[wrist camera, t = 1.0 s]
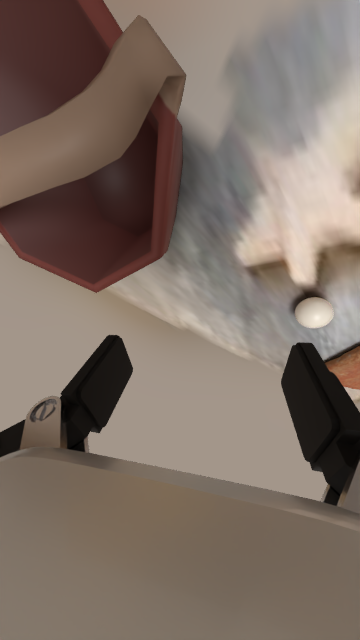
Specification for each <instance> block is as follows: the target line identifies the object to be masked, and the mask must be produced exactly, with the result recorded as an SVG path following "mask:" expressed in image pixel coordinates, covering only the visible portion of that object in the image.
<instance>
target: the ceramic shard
mask: <svg viewBox="0 0 360 640" xmlns="http://www.w3.org/2000/svg"><path fill="white" fill-rule="evenodd" d="M325 364H326V366H327V368H328V369H329V371H330V372H333V373H334V374H335V375H336V376H337V378H338V379H339V381H340V382H341V384H342V385H343V386H344V387H349V388H352V389H360V346H358V347H357V348H355V349H353V350H351V351H349V352H347V353H345V354H343V355H342V356H341V357H339V358H336V359H333V360H331V361H328V362H326V363H325Z"/></svg>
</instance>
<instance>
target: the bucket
mask: <svg viewBox="0 0 360 640" xmlns="http://www.w3.org/2000/svg"><path fill="white" fill-rule="evenodd" d="M185 80H186V74H185V73H184V71H183V70H182V68H181V67H180V65H179V64H178V63H177V61H176V60H175V59H174V57H173V56H172V54H171V53H170V52H169V50H168V49H167V48H166V46H165V45H164V43H163V42H162V41H161V39H160V38H159V36H158V35H157V33H156V32H155V31H154V29H153V28H152V27H151V25H150V24H149V23H148V21H147V20H146V19H145V18H143V17H141V16H140V15H138V16H137V17H136V19H135V20H134V21H133V22H132V23H131V24H130V26H129V27H128V28H127V29H126V30H125V31H124V32H122V30H121V28H120V27H119V25H118V24H117V22H116V20H115V19H114V17H113V16H112V14H111V12H110V11H109V9H108V8H107V6H106V4H105V3H104V1H103V0H0V233H1V234H2V235H3V237H4V238H5V239H6V241H7V242H8V243H9V244H10V246H11V247H12V249H13V250H14V251H15V253H16V254H17V255H18V257H19V258H21V259H23V260H25V261H28V262H30V263H32V264H34V265H36V266H38V267H41V268H43V269H45V270H47V271H49V272H52V273H54V274H56V275H58V276H61V277H63V278H65V279H67V280H69V281H71V282H74V283H76V284H78V285H80V286H82V287H85V288H87V289H89V290H91V291H94V292H96V293H97V292H99V291H101V290H102V289H104V288H106V287H108V286H110V285H112V284H114V283H116V282H117V281H119V280H121V279H123V278H125V277H127V276H129V275H130V274H132V273H134V272H136V271H138V270H140V269H142V268H143V267H145V266H147V265H149V264H151V263H153V262H155V261H156V260H158V259H160V258H161V257H162V256H163V255H164V254H165V253H166V252H167V251H168V247H169V242H170V238H171V234H172V230H173V226H174V222H175V218H176V211H177V204H178V196H179V188H180V181H181V173H182V165H183V146H182V126H181V124H180V122H179V121H178V119H177V115H178V112H179V108H180V104H181V101H182V96H183V91H184V85H185Z"/></svg>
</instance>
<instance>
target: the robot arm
mask: <svg viewBox="0 0 360 640" xmlns="http://www.w3.org/2000/svg"><path fill="white" fill-rule="evenodd" d="M132 372H133V367H132V365H131V362H130V359H129V356H128V354H127V351H126V348H125V346H124V343H123V341H122V338H120V337H119V336H117V335H108V336H107V337H106V338H105V339H104V341H103V342H102V343H101V344H100V346H99V347H98V348H97V349H96V351H95V352H94V353H93V354H92V355H91V357H90V358H89V359H88V360H87V362H86V363H85V364H84V365H83V367H82V368H81V369H80V370H79V371H78V373H77V374H76V375H75V376H74V378H73V379H72V380H71V381H70V382H69V384H68V385H67V386H66V387H65V389H64V390H63V391H62V393H61V395H62V396H61V397H60V398H59V397H57V396H50V397H47V398H44V399H42V400H41V401H39V402H38V403H36V404H35V405H34V406H33V407H32V408H31V409H30V411H29V413H28V414H27V416H26V419H25V420H23V421H21V422H19V423H17V424H16V425H13V426H11V427H10V428H8V429H6V430H4V431H2V432H0V640H360V412H359V411H358V409H357V407H356V406H355V404H354V403H353V401H352V400H351V398H350V396H349V395H348V393H347V392H346V390H345V389H344V387H343V385H342V384H341V382H340V381H339V379H338V378H337V376H336V375H335V374H334V373H333V372H330V371H329V369H328V368H327V366H326V364H325V363H324V361H323V360H322V358H321V356H320V355H319V353H318V351H317V350H316V348H315V347H314V345H313V344H312V343H297V344H296V345H293V346H292V348H291V351H290V355H289V358H288V361H287V364H286V367H285V370H284V373H283V376H282V380H281V385H282V388H283V392H284V395H285V398H286V401H287V405H288V408H289V411H290V414H291V418H292V421H293V423H294V427H295V430H296V433H297V437H298V440H299V443H300V446H301V449H302V452H303V455H304V458H305V460H306V461H308V462H310V464H311V468H312V470H314V471H320V472H323V474H324V477H325V480H326V482H327V483H328V485H327V487H326V489H325V492H324V494H323V496H322V498H321V501H316V500H312V499H307V498H303V497H299V496H294V495H290V494H285V493H281V492H277V491H272V490H268V489H263V488H258V487H253V486H249V485H244V484H239V483H234V482H229V481H225V480H219V479H215V478H210V477H206V476H201V475H195V474H191V473H186V472H181V471H176V470H171V469H166V468H162V467H157V466H151V465H146V464H141V463H137V462H132V461H127V460H122V459H116V458H112V457H107V456H102V455H97V454H92V453H89V445H88V434H89V432H90V431H91V432H96V433H100V431H101V429H102V428H103V427H105V426H106V424H107V422H108V420H109V418H110V416H111V414H112V412H113V410H114V408H115V406H116V404H117V402H118V400H119V398H120V396H121V394H122V392H123V390H124V388H125V386H126V384H127V383H128V380H129V378H130V377H131V375H132Z"/></svg>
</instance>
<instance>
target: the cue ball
mask: <svg viewBox="0 0 360 640" xmlns="http://www.w3.org/2000/svg"><path fill="white" fill-rule="evenodd" d="M333 314H334V310H333V307H332V305H331V304H330V303H329V302H328V301H327V300H325V299H322V298H318V297H311V298H307V299H305V300H303V301H301V302H300V303H299V304H298V305H297V307H296V310H295V317H296V319H297V321H298V322H299V323H300V324H301V325H303V326H305V327H308V328H320V327H323V326H325V325H327V324H328V323H329V322H330V321H331V320H332V318H333Z"/></svg>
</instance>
